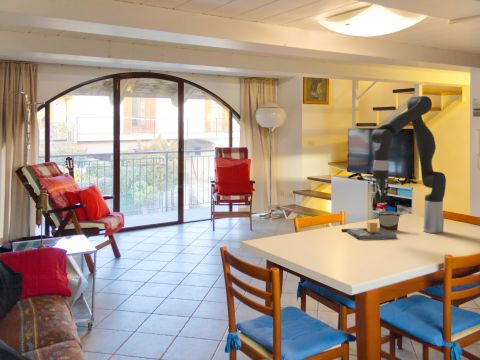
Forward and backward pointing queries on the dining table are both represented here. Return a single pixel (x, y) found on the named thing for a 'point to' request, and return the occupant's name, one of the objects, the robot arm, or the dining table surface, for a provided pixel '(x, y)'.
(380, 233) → the panel
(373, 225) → the lever
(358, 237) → the cord
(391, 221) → the food container
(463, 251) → the dining table surface
